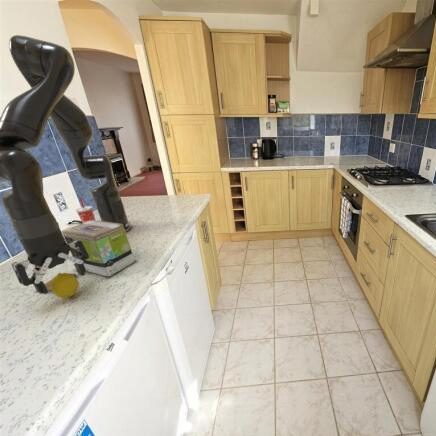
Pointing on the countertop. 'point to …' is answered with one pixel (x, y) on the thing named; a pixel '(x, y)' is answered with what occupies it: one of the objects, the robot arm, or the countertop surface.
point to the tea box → (101, 246)
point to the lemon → (64, 285)
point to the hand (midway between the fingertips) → (64, 283)
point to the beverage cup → (85, 213)
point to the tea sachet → (48, 284)
